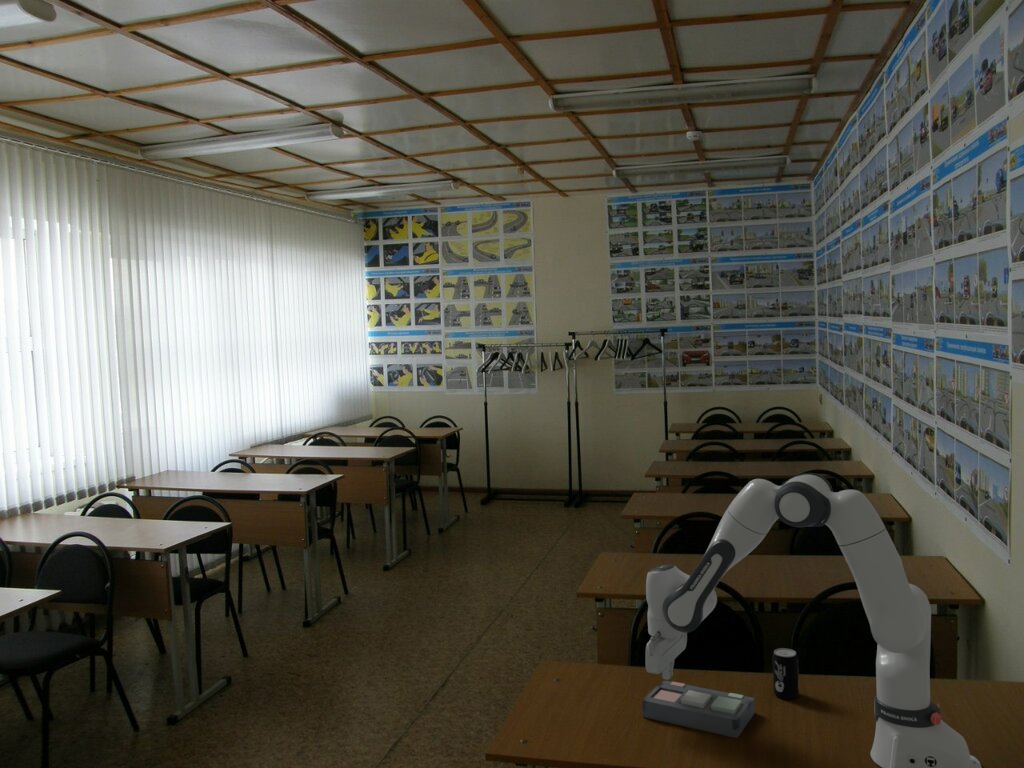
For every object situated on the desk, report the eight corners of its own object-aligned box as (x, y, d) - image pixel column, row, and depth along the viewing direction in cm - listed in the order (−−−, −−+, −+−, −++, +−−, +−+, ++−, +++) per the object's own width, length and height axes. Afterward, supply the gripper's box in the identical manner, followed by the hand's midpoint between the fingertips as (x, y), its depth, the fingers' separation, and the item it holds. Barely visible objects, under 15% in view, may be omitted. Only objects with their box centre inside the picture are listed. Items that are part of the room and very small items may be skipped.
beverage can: (800, 701, 220) (799, 657, 219) (775, 700, 221) (773, 656, 220) (797, 690, 226) (796, 647, 225) (772, 689, 227) (771, 647, 227)
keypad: (754, 712, 214) (754, 696, 214) (737, 738, 202) (736, 720, 201) (664, 694, 228) (664, 678, 228) (642, 717, 215) (642, 700, 215)
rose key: (682, 701, 219) (682, 694, 218) (674, 710, 214) (673, 703, 213) (661, 697, 222) (660, 689, 222) (652, 706, 217) (652, 698, 217)
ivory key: (711, 701, 214) (711, 694, 214) (703, 711, 209) (703, 703, 209) (689, 697, 217) (689, 690, 217) (681, 706, 212) (680, 699, 212)
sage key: (741, 708, 210) (741, 700, 210) (734, 717, 205) (734, 710, 205) (718, 703, 213) (718, 695, 213) (711, 712, 208) (710, 705, 208)
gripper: (661, 641, 206) (664, 695, 207) (689, 615, 223) (692, 665, 224) (637, 637, 209) (640, 690, 210) (668, 612, 227) (670, 661, 227)
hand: (667, 677), depth 217 cm, fingers closed
